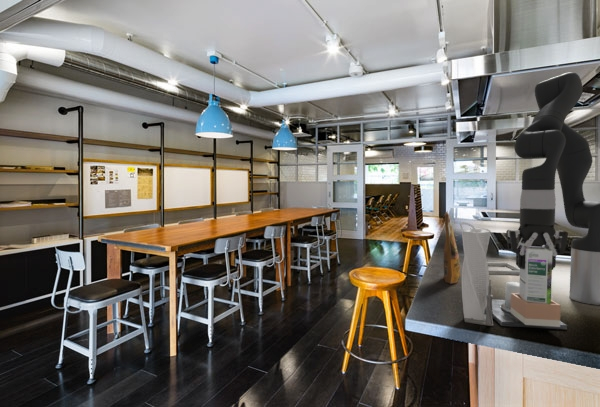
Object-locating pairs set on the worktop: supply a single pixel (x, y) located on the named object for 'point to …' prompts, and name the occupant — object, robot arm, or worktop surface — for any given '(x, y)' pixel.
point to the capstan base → (513, 317)
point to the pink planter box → (531, 308)
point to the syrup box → (536, 275)
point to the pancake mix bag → (450, 254)
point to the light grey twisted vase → (476, 277)
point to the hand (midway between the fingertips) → (535, 268)
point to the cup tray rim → (516, 272)
